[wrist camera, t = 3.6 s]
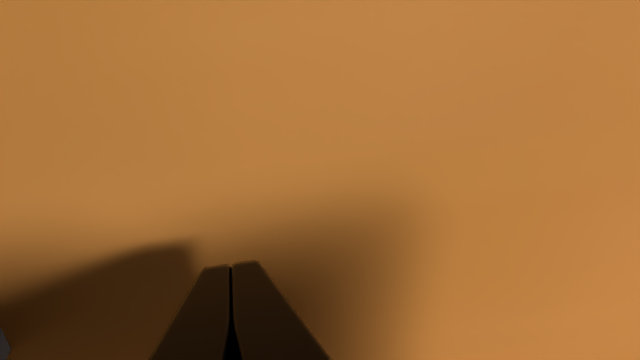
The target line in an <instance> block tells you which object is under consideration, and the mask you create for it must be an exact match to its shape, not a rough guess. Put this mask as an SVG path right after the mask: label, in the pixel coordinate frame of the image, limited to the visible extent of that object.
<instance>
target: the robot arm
mask: <svg viewBox="0 0 640 360" xmlns="http://www.w3.org/2000/svg"><path fill="white" fill-rule="evenodd" d="M149 360H332V359H331V358H330V357H329V355H328V354H327V353H326V351H325V350H324V348H323V347H322V346H321V344H320V343H319V342H318V340H317V339H316V338H315V336H314V335H313V334H312V332H311V331H310V330H309V328H308V327H307V326H306V324H305V323H304V322H303V320H302V319H301V318H300V316H299V315H298V314H297V312H296V311H295V310H294V308H293V307H292V305H291V304H290V303H289V301H288V300H287V299H286V297H285V296H284V295H283V293H282V292H281V291H280V289H279V288H278V287H277V285H276V284H275V283H274V281H273V280H272V279H271V277H270V276H269V275H268V273H267V272H266V271H265V269H264V268H263V266H262V265H261V264H260V263H259V262H258V261H256V260H252V261H245V262H238V263H234V264H233V265H232V267H230V266H229V265H227V264H225V265H218V266H211V267H206V268H204V269H202V271H201V272H200V274H199V275H198V277H197V279H196V281H195V282H194V284H193V286H192V287H191V289H190V291H189V292H188V294H187V296H186V297H185V299H184V301H183V303H182V304H181V306H180V308H179V309H178V311H177V313H176V314H175V316H174V318H173V319H172V321H171V323H170V325H169V326H168V328H167V330H166V331H165V333H164V335H163V336H162V338H161V340H160V342H159V343H158V345H157V347H156V348H155V350H154V352H153V353H152V355H151V357H150V358H149Z"/></svg>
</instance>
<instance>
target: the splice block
mask: <svg viewBox="0 0 640 360" xmlns="http://www.w3.org/2000/svg"><path fill="white" fill-rule="evenodd" d="M10 351H11V347H10V345H9V343H8V341H7V339H6V337H5V336H4V334H3V332H2V330H1V328H0V360H7V358H8V355H9V353H10Z"/></svg>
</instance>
